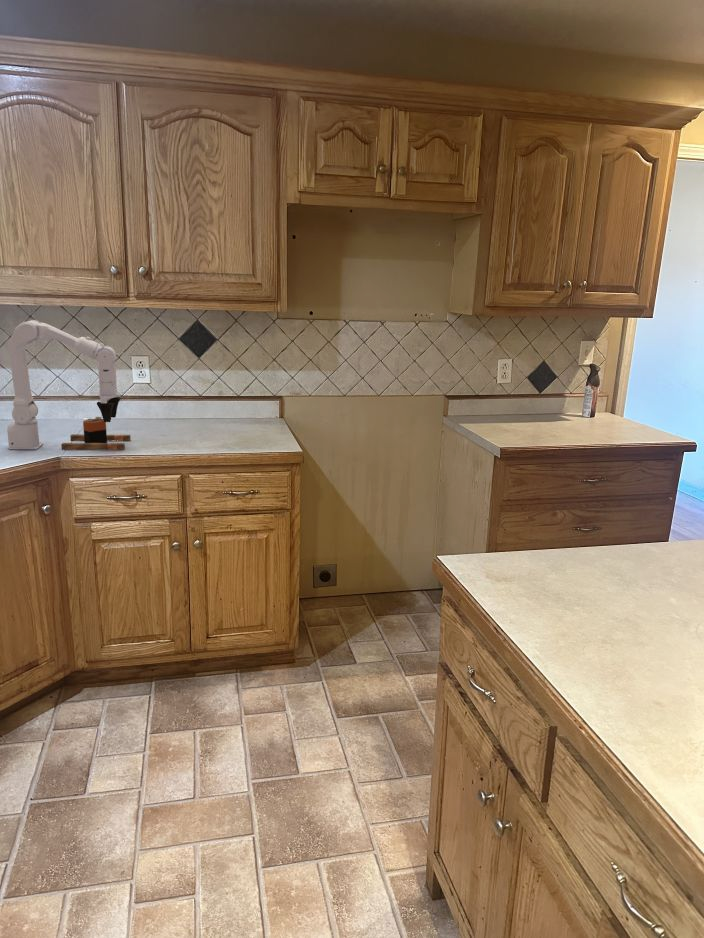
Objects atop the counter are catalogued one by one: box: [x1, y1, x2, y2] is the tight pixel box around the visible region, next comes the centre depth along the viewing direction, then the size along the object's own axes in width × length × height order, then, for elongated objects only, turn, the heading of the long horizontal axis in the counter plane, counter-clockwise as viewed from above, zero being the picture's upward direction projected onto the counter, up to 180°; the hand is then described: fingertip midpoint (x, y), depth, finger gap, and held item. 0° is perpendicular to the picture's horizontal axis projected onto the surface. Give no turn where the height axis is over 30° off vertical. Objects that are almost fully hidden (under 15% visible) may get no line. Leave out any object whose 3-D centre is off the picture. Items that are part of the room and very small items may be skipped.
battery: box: [82, 416, 108, 443], centre depth 245 cm, size 4×7×10 cm, turn 142°
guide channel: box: [61, 433, 131, 451], centre depth 246 cm, size 21×15×2 cm
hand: (109, 419), depth 242 cm, fingers open, 7 cm apart
